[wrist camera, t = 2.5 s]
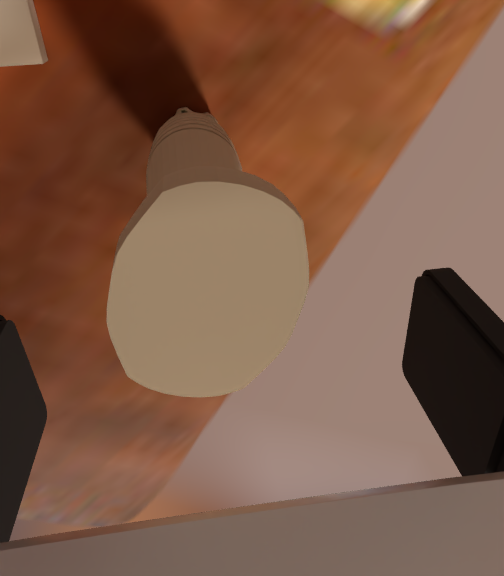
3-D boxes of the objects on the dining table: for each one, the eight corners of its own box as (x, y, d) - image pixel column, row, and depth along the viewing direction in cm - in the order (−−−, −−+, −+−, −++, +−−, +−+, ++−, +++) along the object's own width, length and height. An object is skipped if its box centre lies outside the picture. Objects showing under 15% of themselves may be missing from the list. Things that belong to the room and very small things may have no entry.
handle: (252, 85, 24) (342, 207, 11) (221, 205, 27) (264, 404, 14) (153, 58, 22) (128, 159, 10) (133, 187, 26) (94, 388, 13)
